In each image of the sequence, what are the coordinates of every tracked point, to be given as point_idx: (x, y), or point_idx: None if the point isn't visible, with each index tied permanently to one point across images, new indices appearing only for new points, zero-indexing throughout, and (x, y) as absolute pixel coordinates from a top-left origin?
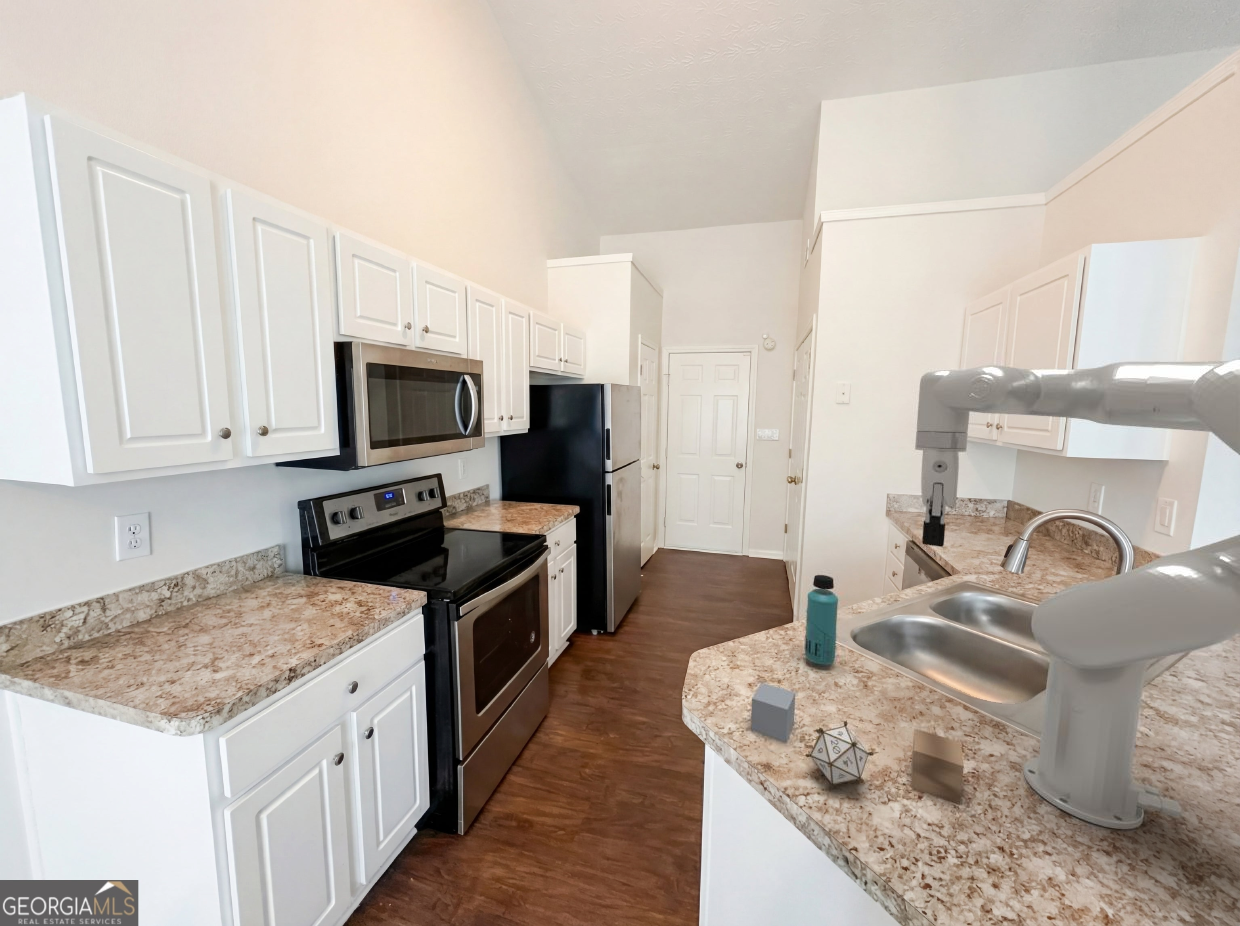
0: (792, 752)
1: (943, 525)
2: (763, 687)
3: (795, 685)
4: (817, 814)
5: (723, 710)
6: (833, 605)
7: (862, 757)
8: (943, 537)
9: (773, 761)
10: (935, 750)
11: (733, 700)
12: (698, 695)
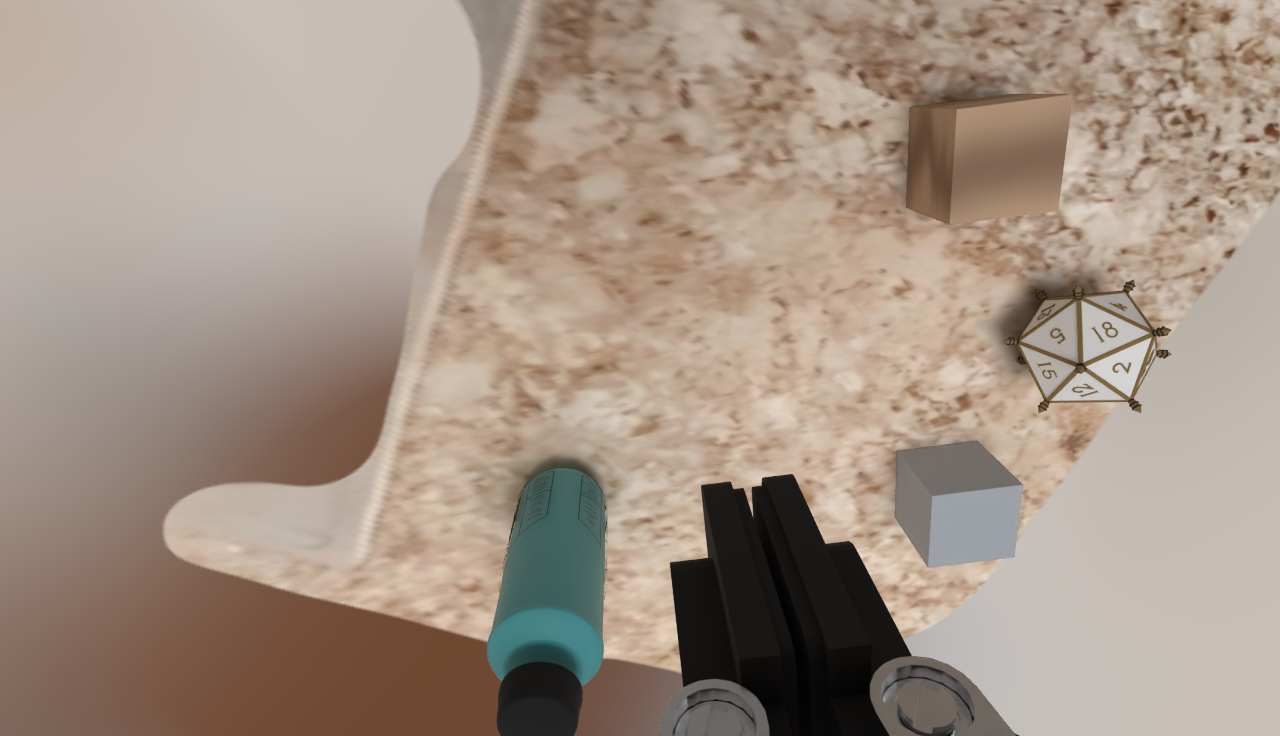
0: (1003, 420)
1: (863, 648)
2: (950, 556)
3: None
4: None
5: (929, 572)
6: (572, 603)
7: (1110, 304)
8: (816, 530)
9: (1051, 439)
10: (1031, 164)
11: (879, 573)
12: (903, 629)
